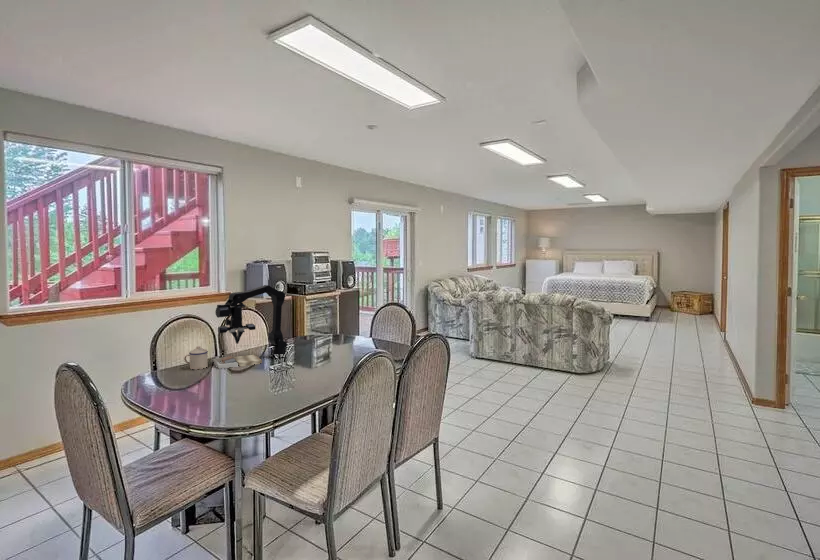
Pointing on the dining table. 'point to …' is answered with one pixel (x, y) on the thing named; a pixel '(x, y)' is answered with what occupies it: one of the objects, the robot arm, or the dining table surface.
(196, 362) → the teacup with lid
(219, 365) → the tray
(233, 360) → the slate tile
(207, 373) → the dining table surface
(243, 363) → the birch board
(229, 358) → the terracotta tile
